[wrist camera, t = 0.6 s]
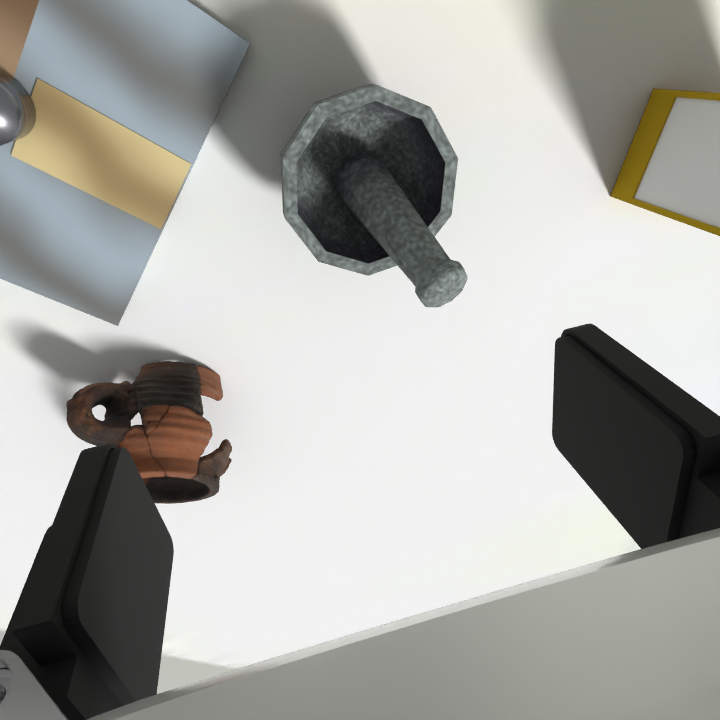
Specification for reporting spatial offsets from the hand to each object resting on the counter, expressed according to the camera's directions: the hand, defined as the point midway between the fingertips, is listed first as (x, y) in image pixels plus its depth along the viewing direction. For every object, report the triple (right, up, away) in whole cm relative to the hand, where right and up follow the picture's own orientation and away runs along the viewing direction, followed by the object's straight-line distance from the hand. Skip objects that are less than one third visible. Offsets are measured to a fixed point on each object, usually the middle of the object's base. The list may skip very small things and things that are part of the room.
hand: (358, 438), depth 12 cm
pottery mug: (-15, -2, +29) cm, 33 cm away
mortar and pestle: (0, +14, +24) cm, 27 cm away
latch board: (-19, +16, +18) cm, 30 cm away
